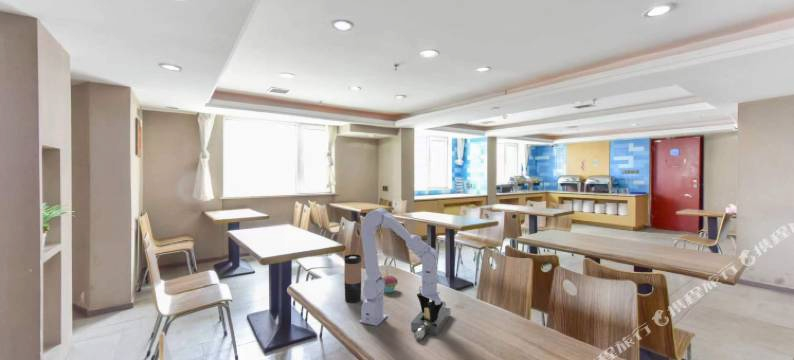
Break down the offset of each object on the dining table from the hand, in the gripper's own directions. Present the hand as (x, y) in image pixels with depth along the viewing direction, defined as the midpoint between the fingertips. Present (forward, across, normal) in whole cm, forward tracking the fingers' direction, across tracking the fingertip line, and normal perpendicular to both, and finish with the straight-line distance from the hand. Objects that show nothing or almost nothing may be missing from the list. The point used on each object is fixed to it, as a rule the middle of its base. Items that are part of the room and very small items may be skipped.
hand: (429, 316), depth 128 cm
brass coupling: (+4, 0, 0) cm, 4 cm away
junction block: (+4, +2, -2) cm, 5 cm away
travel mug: (+4, +35, +21) cm, 41 cm away
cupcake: (+4, +40, +2) cm, 41 cm away
